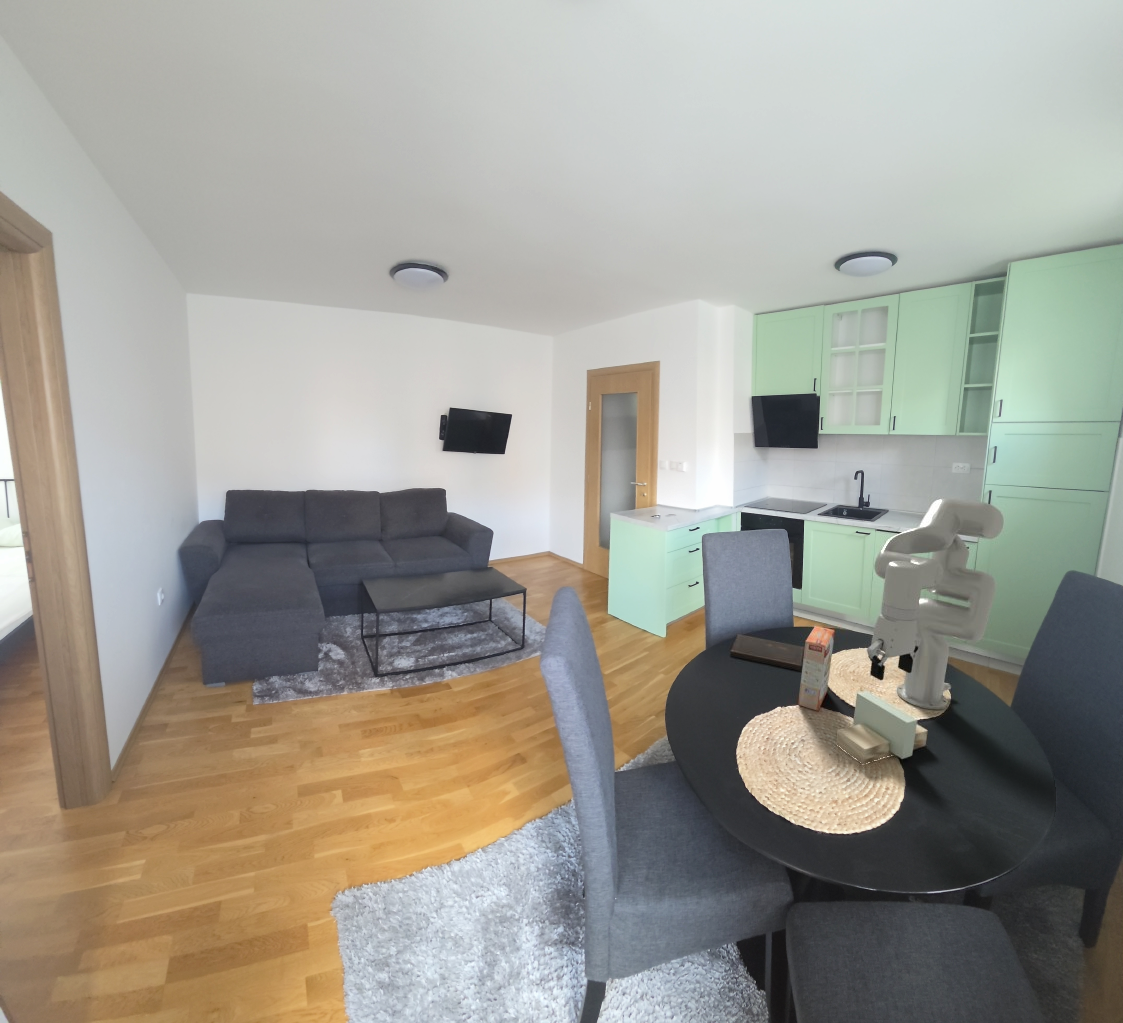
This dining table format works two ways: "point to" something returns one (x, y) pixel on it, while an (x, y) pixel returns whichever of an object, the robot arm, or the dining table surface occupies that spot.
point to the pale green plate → (886, 722)
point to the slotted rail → (871, 742)
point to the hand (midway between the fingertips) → (890, 674)
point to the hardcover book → (768, 652)
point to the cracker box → (816, 667)
